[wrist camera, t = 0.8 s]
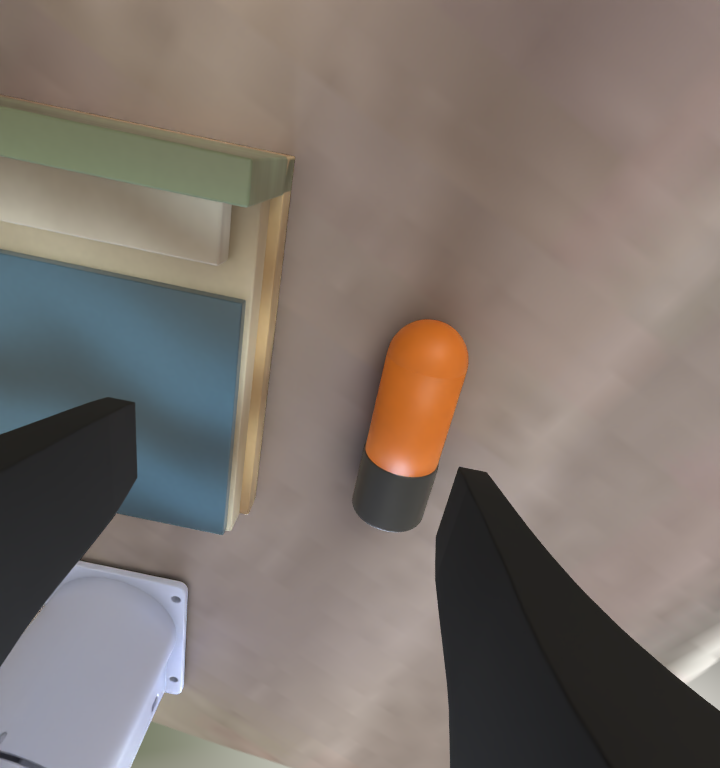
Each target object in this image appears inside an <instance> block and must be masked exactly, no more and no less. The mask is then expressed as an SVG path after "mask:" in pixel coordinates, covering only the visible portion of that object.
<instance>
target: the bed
mask: <svg viewBox="0 0 720 768" xmlns="http://www.w3.org/2000/svg"><path fill="white" fill-rule="evenodd" d="M294 161H295V157H294V156H290V155H285V154H281V153H276V152H271V151H266V150H262V149H257V148H252V147H247V146H243V145H238V144H233V143H228V142H223V141H219V140H214V139H209V138H204V137H200V136H195V135H190V134H185V133H181V132H176V131H171V130H166V129H162V128H157V127H152V126H147V125H143V124H138V123H133V122H128V121H124V120H119V119H114V118H109V117H104V116H100V115H95V114H90V113H85V112H81V111H76V110H71V109H66V108H62V107H57V106H52V105H47V104H43V103H38V102H33V101H28V100H24V99H19V98H14V97H9V96H5V95H0V434H3V433H6V432H9V431H12V430H14V429H17V428H20V427H22V426H25V425H28V424H31V423H33V422H36V421H39V420H42V419H44V418H47V417H50V416H53V415H55V414H58V413H61V412H63V411H66V410H69V409H72V408H74V407H77V406H80V405H83V404H86V403H89V402H92V401H95V400H98V399H102V398H106V397H111V398H116V399H121V400H126V401H131V402H135V412H136V445H137V477H138V478H137V479H136V481H135V483H134V484H133V486H132V488H131V490H130V491H129V493H128V495H127V497H126V498H125V500H124V502H123V503H122V505H121V506H120V508H119V510H118V511H117V513H118V514H123V515H128V516H132V517H137V518H142V519H147V520H152V521H157V522H161V523H166V524H171V525H176V526H181V527H186V528H190V529H195V530H200V531H205V532H210V533H215V534H219V535H223V534H224V532H225V530H227V531H231V530H232V528H233V526H234V524H235V522H236V519H237V517H238V515H239V513H241V514H246V515H248V514H249V512H250V509H251V507H252V505H253V502H254V500H255V496H256V487H257V479H258V470H259V461H260V453H261V444H262V436H263V427H264V418H265V410H266V401H267V393H268V384H269V376H270V367H271V358H272V350H273V341H274V333H275V324H276V315H277V307H278V298H279V290H280V281H281V273H282V264H283V255H284V247H285V238H286V230H287V221H288V212H289V204H290V195H291V187H292V178H293V170H294Z"/></svg>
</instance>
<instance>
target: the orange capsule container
mask: <svg viewBox="0 0 720 768" xmlns="http://www.w3.org/2000/svg"><path fill="white" fill-rule="evenodd" d="M467 368H468V352H467V347H466V345H465V343H464V341H463V339H462V337H461V336H460V335H459V333H458V332H457V331H456V330H455V329H453V328H452V327H451V326H449V325H448V324H446V323H443V322H441V321H437V320H431V319H424V320H418V321H415V322H412V323H410V324H408V325H406V326H405V327H403V328H402V329H401V330H399V332H398V333H397V334H396V335H395V336H394V337H393V339H392V341H391V342H390V345H389V348H388V351H387V355H386V360H385V364H384V368H383V373H382V377H381V381H380V386H379V390H378V394H377V399H376V403H375V407H374V412H373V416H372V420H371V425H370V429H369V434H368V438H367V442H366V444H365V446H364V450H363V454H362V459H361V463H360V467H359V472H358V476H357V480H356V485H355V489H354V494H353V498H352V503H353V507H354V510H355V511H356V513H357V514H358V516H359V517H360V518H361V519H362V520H363V521H365V522H366V523H367V524H369V525H371V526H373V527H375V528H377V529H380V530H384V531H388V532H404V531H408V530H411V529H413V528H414V527H416V526H417V525H418V524H419V523H420V522H421V520H422V517H423V514H424V511H425V508H426V505H427V501H428V498H429V495H430V492H431V489H432V485H433V482H434V479H435V476H436V473H437V470H438V462H439V459H440V456H441V452H442V449H443V446H444V443H445V440H446V436H447V433H448V430H449V427H450V424H451V420H452V417H453V414H454V411H455V408H456V404H457V401H458V398H459V395H460V392H461V388H462V385H463V382H464V379H465V376H466V372H467Z"/></svg>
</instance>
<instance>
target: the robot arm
mask: <svg viewBox="0 0 720 768" xmlns="http://www.w3.org/2000/svg"><path fill="white" fill-rule="evenodd" d="M137 478H138V477H137V445H136V412H135V402H131V401H126V400H121V399H116V398H111V397H106V398H102V399H98V400H95V401H92V402H89V403H86V404H83V405H80V406H77V407H74V408H72V409H69V410H66V411H63V412H61V413H58V414H55V415H53V416H50V417H47V418H44V419H42V420H39V421H36V422H33V423H31V424H28V425H25V426H22V427H20V428H17V429H14V430H12V431H9V432H6V433H3V434H0V768H130V767H131V765H132V763H133V760H134V758H135V756H136V753H137V751H138V749H139V747H140V745H141V742H142V740H143V738H144V736H145V733H146V731H147V729H148V727H149V725H150V722H151V720H152V718H153V716H154V713H155V711H156V709H157V707H158V705H159V702H160V700H161V698H162V696H163V693H164V692H166V693H171V694H179V693H181V691H182V689H183V686H184V670H185V647H186V623H187V600H188V588H187V586H186V585H185V584H184V583H183V582H180V581H176V580H171V579H166V578H161V577H156V576H152V575H147V574H142V573H137V572H132V571H127V570H123V569H118V568H113V567H108V566H103V565H98V564H94V563H89V562H84V561H79V560H80V559H81V558H82V556H83V555H84V554H85V553H86V551H87V550H88V549H89V548H90V546H91V545H92V544H93V543H94V541H95V540H96V539H97V538H98V536H99V535H100V534H101V533H102V531H103V530H104V529H105V528H106V526H107V525H108V524H109V522H110V521H111V520H112V519H113V517H114V516H115V514H116V513H117V511H118V510H119V508H120V506H121V505H122V503H123V502H124V500H125V498H126V497H127V495H128V493H129V491H130V490H131V488H132V486H133V484H134V483H135V481H136V479H137ZM435 581H436V591H437V600H438V609H439V618H440V627H441V635H442V644H443V653H444V661H445V670H446V679H447V689H448V702H449V733H450V768H720V711H719V710H718V709H716V708H715V707H714V706H713V705H711V704H710V703H708V702H707V701H706V700H705V699H703V698H702V697H701V696H699V695H698V694H697V693H696V692H695V691H693V690H692V689H691V688H690V687H688V686H687V685H686V684H685V683H684V682H682V681H681V680H680V679H679V678H677V677H676V676H675V675H674V674H672V673H671V672H670V671H669V670H668V669H667V668H666V667H664V666H663V665H662V664H661V663H660V662H659V661H657V660H656V659H655V658H654V657H653V656H652V655H650V654H649V653H648V652H647V651H646V650H645V649H643V648H642V647H641V646H640V645H639V644H638V643H637V642H636V641H634V640H633V639H632V638H631V637H630V636H629V635H628V634H627V633H626V632H625V631H623V630H622V629H621V628H620V627H619V626H618V625H617V624H616V623H615V622H614V621H613V620H612V619H611V618H610V617H609V616H608V615H607V614H606V613H605V612H604V611H603V610H602V609H601V608H600V607H599V606H598V605H597V604H596V603H595V602H594V601H593V600H592V599H591V598H590V597H589V596H588V595H587V594H586V593H585V592H584V591H583V590H582V589H581V588H580V587H579V586H578V585H577V584H576V583H575V582H574V581H573V579H572V578H571V577H570V576H569V575H568V574H567V573H566V572H565V570H564V569H563V568H562V567H561V566H560V565H559V564H558V562H557V561H556V560H555V559H554V558H553V557H552V556H551V554H550V553H549V552H548V551H547V550H546V548H545V547H544V546H543V545H542V544H541V542H540V541H539V540H538V539H537V538H536V536H535V535H534V534H533V533H532V531H531V530H530V529H529V527H528V526H527V525H526V524H525V522H524V521H523V520H522V518H521V517H520V516H519V515H518V513H517V512H516V511H515V509H514V508H513V507H512V505H511V504H510V503H509V501H508V500H507V499H506V497H505V496H504V495H503V493H502V492H501V491H500V489H499V488H498V486H497V485H496V484H495V482H494V481H493V480H492V479H491V477H490V476H489V475H488V474H487V472H483V471H478V470H473V469H468V468H463V467H459V468H458V471H457V474H456V477H455V480H454V483H453V486H452V489H451V492H450V495H449V499H448V502H447V505H446V508H445V511H444V514H443V517H442V520H441V523H440V526H439V529H438V532H437V535H436V556H435ZM43 605H45V606H44V608H43V609H42V610H41V611H40V613H39V614H38V615H37V616H36V618H35V619H34V620H33V621H32V619H33V618H34V617H35V615H36V614H37V613H38V611H39V610H40V609H41V607H42V606H43ZM31 621H32V623H31V624H30V625H29V623H30V622H31ZM28 625H29V626H28ZM27 626H28V628H27ZM26 628H27V629H26ZM25 629H26V630H25ZM23 632H24V633H23Z"/></svg>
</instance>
